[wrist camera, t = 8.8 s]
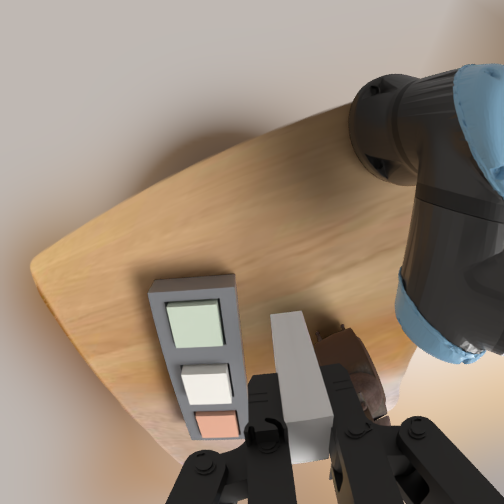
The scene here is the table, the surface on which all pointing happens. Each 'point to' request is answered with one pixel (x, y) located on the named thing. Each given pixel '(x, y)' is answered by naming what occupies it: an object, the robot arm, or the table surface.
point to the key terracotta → (218, 424)
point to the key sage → (196, 323)
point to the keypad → (227, 353)
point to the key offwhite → (207, 383)
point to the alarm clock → (355, 370)
